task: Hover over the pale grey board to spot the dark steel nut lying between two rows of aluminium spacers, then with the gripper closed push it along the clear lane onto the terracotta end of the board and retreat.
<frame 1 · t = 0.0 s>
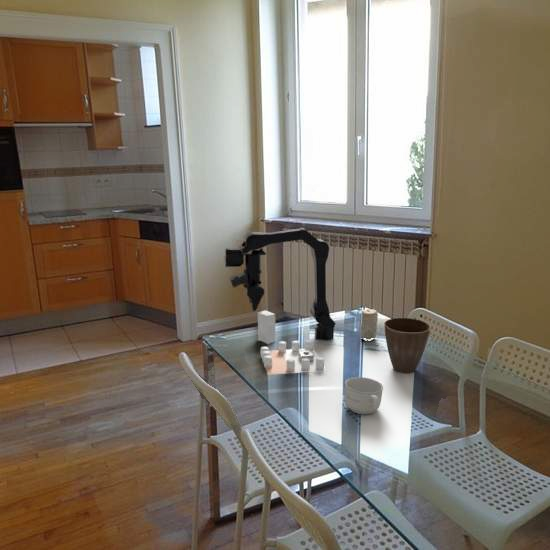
hand: (252, 306, 193), 15 cm above the table, fingers open, 9 cm apart
board: (291, 363, 179), on the table
beige upright cylinder: (367, 340, 202), on the table
skincare box: (266, 343, 198), on the table
teacup: (363, 412, 147), on the table
plant pot: (403, 369, 176), on the table
nut: (305, 359, 180), point 1 cm above the table, touching board
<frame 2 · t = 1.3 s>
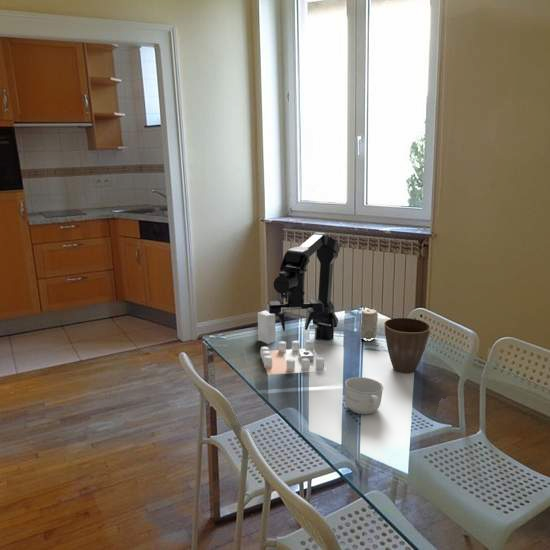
hand: (294, 330, 177), 12 cm above the table, fingers open, 7 cm apart
nothing on the table moved.
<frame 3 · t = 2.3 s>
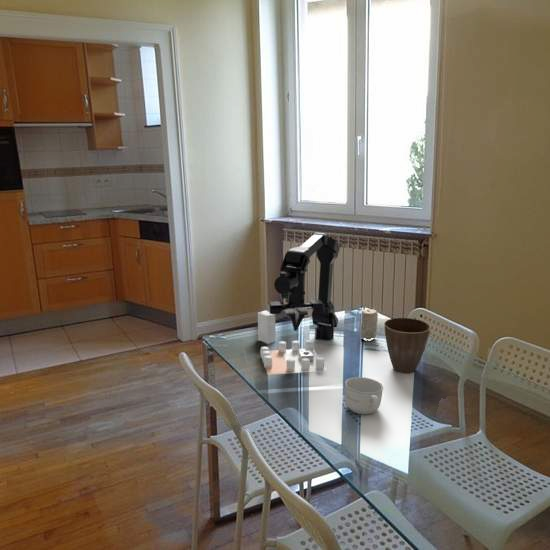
hand: (295, 330, 177), 12 cm above the table, fingers closed
nothing on the table moved.
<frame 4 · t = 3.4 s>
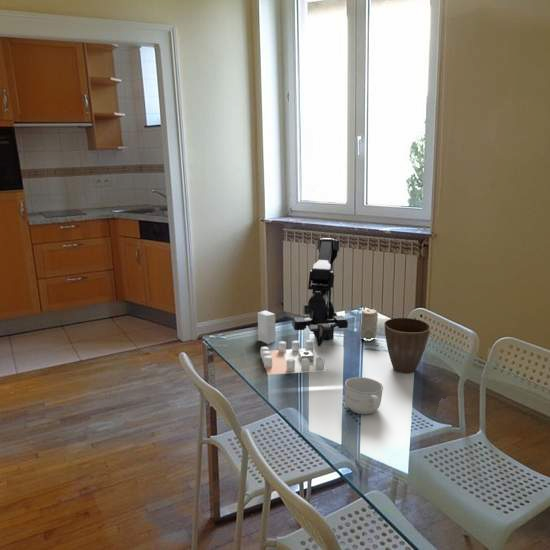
hand: (318, 345, 180), 6 cm above the table, fingers closed
nothing on the table moved.
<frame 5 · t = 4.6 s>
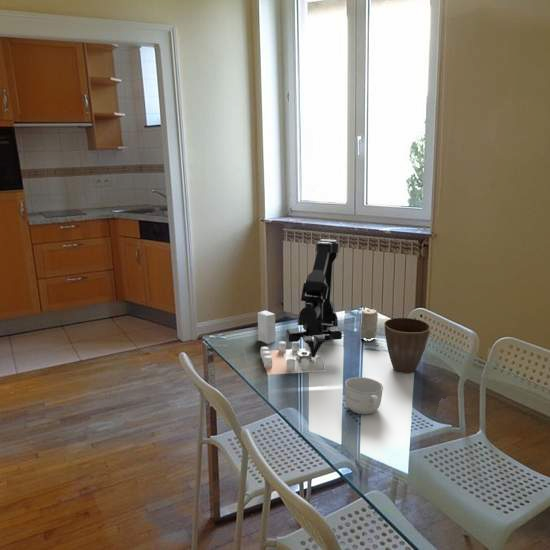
hand: (313, 357, 180), 2 cm above the table, fingers closed
nut: (303, 359, 180), point 1 cm above the table, touching gripper
everything else where it was.
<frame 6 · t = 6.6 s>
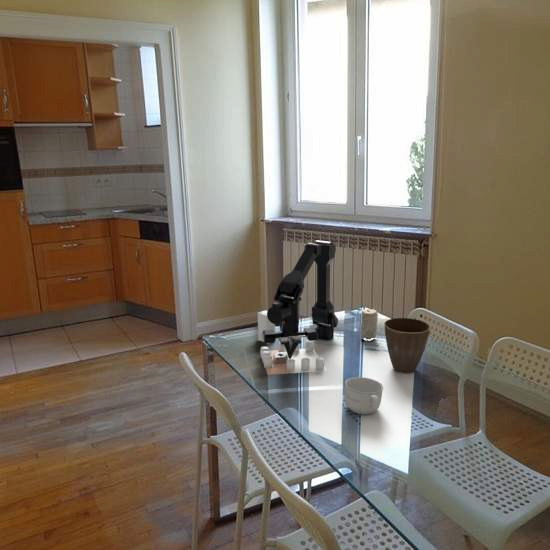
hand: (289, 358, 179), 2 cm above the table, fingers closed
nut: (280, 361, 178), point 1 cm above the table, touching board, gripper
everything else where it was.
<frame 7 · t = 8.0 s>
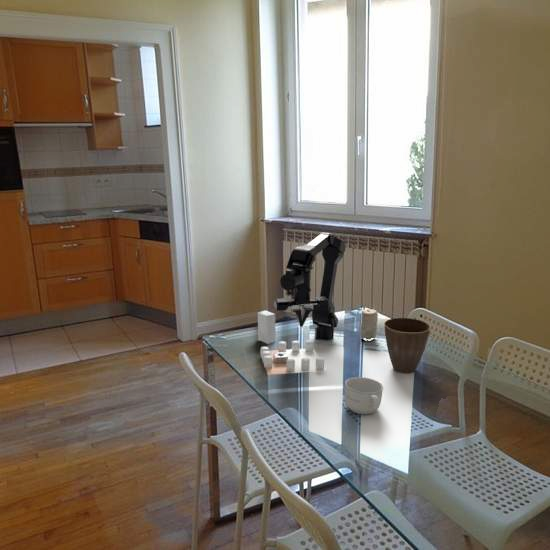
hand: (301, 326, 182), 12 cm above the table, fingers closed
nut: (280, 361, 178), point 1 cm above the table, touching board
everything else where it was.
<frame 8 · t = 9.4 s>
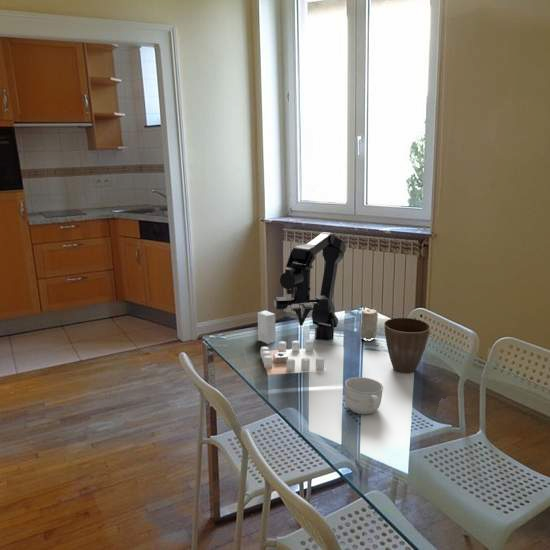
hand: (300, 325, 182), 12 cm above the table, fingers closed
nothing on the table moved.
at the end: nut inside the target area on the board (2.0 cm from its centre), point 1.0 cm above the board's base; nut tilted 1° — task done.
